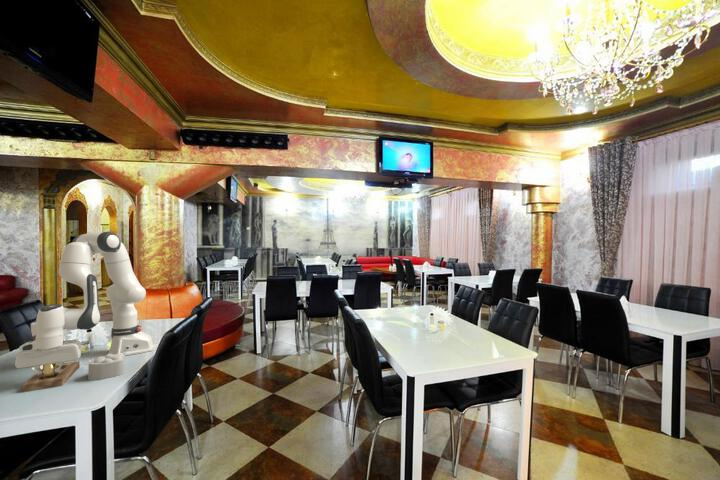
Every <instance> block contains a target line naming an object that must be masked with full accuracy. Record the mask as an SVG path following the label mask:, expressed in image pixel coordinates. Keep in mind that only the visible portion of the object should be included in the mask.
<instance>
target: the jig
mask: <svg viewBox="0 0 720 480" xmlns="http://www.w3.org/2000/svg"><path fill="white" fill-rule="evenodd" d="M80 363H81V362H80V361H79V360H77V361H69V362H64V364H63V365H62V367H61V370H60V372H59V373H56V377H54V378H48V379H43V375H39V376H38V372H36V373H35V374H34V375H33V376H32V377H31V378H30V379H28V380H27V381H26V382H24V383H23V384H22V393H25V392H32V391H37V390H45V389H51V388H57V387H62V386H64V384H66V382H67V381H68V380H69V379H70V378H71V377H72V376H73V375H74V374H75V373H76V371H77V370H79V368H80ZM59 366H60V365H58V363H56V368H58V367H59ZM41 370H43V369H41Z"/></svg>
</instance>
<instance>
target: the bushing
mask: <svg viewBox="0 0 720 480" xmlns="http://www.w3.org/2000/svg"><path fill="white" fill-rule="evenodd" d="M56 364H57V363H53V364H51V363H50V364H45V365H43V379H48V378H54V377H56V373H54V372H55V369H56Z"/></svg>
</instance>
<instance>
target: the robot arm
mask: <svg viewBox="0 0 720 480" xmlns="http://www.w3.org/2000/svg"><path fill="white" fill-rule="evenodd" d="M71 241H72V242H69V243H68V244H67V245H65V247H64V249H63V251H62V254H61V258H60V261H59V266H58V275H59V277H60V278H61V279H62V280H64V281H66V282H67V283H70V284H73V285H76V286H78V287H80V288H81V289H82V290H83V307H82V308H68V307H64V305H63V304H59V303H55V304H53V303H52V304H48V305H45V306H43V307H40V308H39V309H38V311H37V315H36V319H35V322H36V329H37V335H36V340H35V339H33V340H30V341H27V342H24V343H23V344H22V345H20V346H19V347H18V352H17V354H16V357H15V361H14V367H15V368H17V369H21V368H29V367H30V368H32V367H34V369H35V370H34V371H36V373H38V376H39V375H43V370H42V369H41V368H40V366H41V365H45V364H50V363H51V364H53V363H56V364H58V365H60V366H59V367H58V368H56V369H55V372H54V373H59V372H60V370H61V367H62V365H63V364H64V363H69V362H76V361H79V359H80V358H82V352H81V347H82V342H81V340H79V339H68V340H65V330H67V331H69V330H85V331H86V330H87V331H88V330H92V329H93V328H95V327H96V326H97V325H98V324H99V323H100V321H101V317H102V316H101V315H102V314H101V311H100V307H99V305H100V303H99V286H98V279H97V277H96V275H95V274H93V273H92V269H91V268H92V267H91V265H92V256H94V254H101V255H102V257H103V262H104V265H105V270H106V272H107V276H108V278H109V279H110V280H111V281H112V284H111V285H109V286H108V287H107V289H106V290H105V291H106V292H105V293H106V294H105V295H106V297H107V298H108V300H109V303H110V308H111V311H112V328H111V331H110V334H111V336H110V337H111V342H110V347H109V351H108V353H107V354H113V355H115V354H122V355H125V357H126V356H132V355H138V354H142V353H147V352H152V351H154V350H156V349H157V347H158V344H157V343H156V342H153V337H152V336H151V335H150V334H148V333H146V332H144V331H142V325H139V324H138V310H137V309H136V308H135V304H137V303H140V302H142V301H143V300H144V299H145V297H146V295H147V291H146V288H145V287H143V285H142V284H141V283H140V281H139V279H138V278H137V276H136V274H135V273H134V269H133V266H132V262H131V260H130V256H129V253H128V250H127V248H126V246H125V244H124V243H123V242H122V241H121V239H120V237H119V236H118V235H117V234H116V233H115V232H111V231H93V232H90V233H89V232H88V233H82V234H78V235H77V236H75V237H74V238H73V239H72V240H71Z"/></svg>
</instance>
